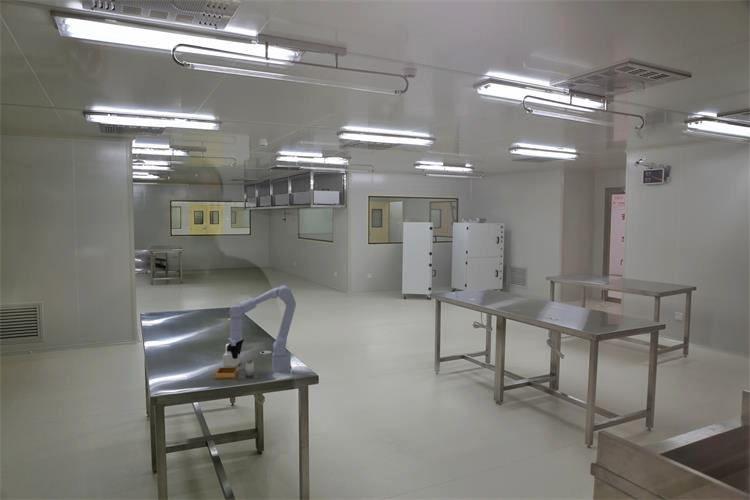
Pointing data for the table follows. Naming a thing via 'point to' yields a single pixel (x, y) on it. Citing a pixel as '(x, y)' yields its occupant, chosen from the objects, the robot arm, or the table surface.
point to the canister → (249, 368)
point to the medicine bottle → (230, 358)
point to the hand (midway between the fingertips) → (236, 356)
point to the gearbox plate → (233, 374)
